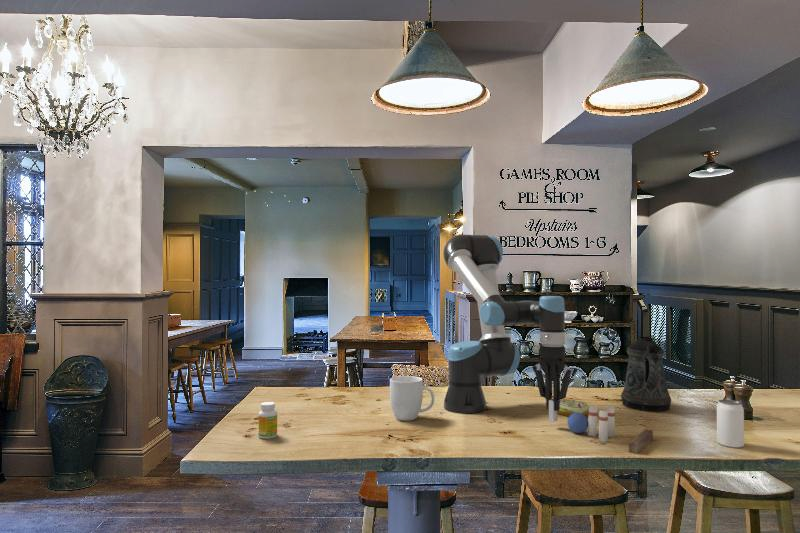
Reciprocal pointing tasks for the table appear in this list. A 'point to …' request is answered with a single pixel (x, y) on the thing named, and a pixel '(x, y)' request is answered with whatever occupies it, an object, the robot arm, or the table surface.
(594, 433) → the pin front
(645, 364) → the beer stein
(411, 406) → the mug
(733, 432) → the can
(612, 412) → the pin back left
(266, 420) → the supplement bottle
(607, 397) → the table surface
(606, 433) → the pin back right
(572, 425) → the ball
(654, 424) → the table surface
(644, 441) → the rail
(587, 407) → the decorated donut
